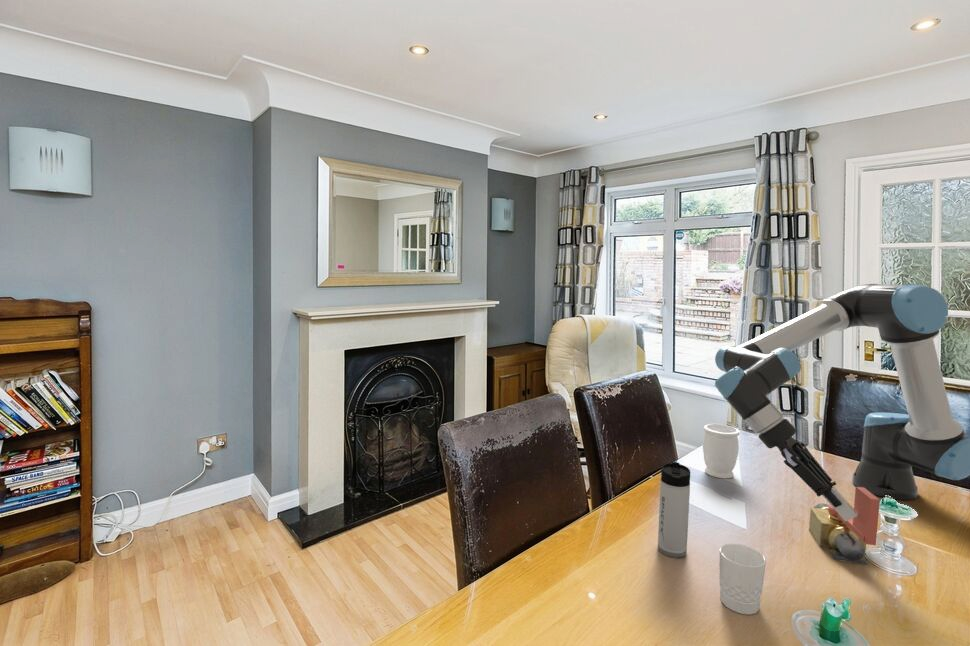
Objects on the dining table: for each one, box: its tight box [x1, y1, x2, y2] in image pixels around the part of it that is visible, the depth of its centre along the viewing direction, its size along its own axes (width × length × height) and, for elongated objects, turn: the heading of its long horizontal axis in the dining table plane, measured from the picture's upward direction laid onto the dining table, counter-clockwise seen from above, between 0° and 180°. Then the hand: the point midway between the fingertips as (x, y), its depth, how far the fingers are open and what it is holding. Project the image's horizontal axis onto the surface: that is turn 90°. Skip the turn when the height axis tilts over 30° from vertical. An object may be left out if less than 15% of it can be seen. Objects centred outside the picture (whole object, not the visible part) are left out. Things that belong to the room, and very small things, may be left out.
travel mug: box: [657, 461, 691, 559], centre depth 112 cm, size 6×7×20 cm
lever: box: [827, 486, 881, 546], centre depth 110 cm, size 4×16×10 cm, turn 168°
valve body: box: [808, 502, 867, 565], centre depth 116 cm, size 19×9×7 cm, turn 162°
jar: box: [702, 423, 740, 479], centre depth 156 cm, size 11×10×15 cm
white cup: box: [719, 543, 767, 616], centre depth 94 cm, size 8×8×10 cm
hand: (851, 517), depth 106 cm, fingers closed
